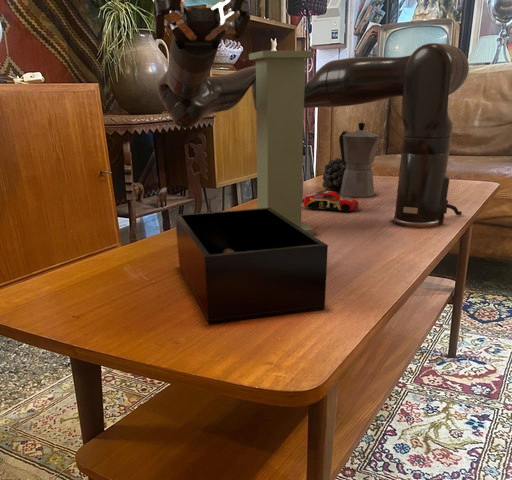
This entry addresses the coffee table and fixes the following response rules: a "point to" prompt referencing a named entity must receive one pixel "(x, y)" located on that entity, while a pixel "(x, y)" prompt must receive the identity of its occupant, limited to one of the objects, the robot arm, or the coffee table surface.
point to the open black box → (250, 264)
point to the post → (280, 131)
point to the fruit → (333, 175)
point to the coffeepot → (358, 162)
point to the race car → (330, 201)
